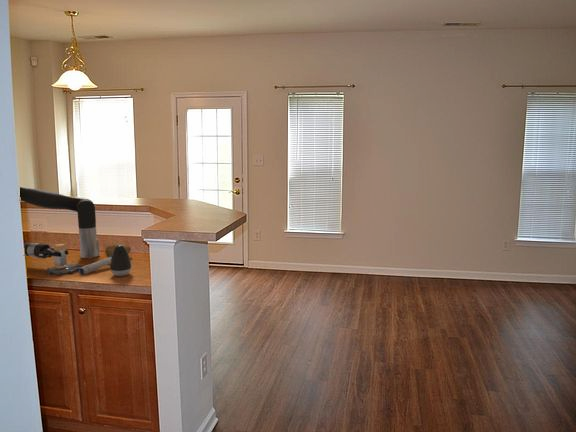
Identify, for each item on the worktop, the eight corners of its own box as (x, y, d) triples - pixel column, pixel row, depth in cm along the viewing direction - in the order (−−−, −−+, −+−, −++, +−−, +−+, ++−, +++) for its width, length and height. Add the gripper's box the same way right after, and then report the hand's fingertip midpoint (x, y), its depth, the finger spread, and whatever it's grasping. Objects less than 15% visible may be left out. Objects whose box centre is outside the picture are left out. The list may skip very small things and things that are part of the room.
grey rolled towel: (77, 267, 243) (117, 250, 263) (79, 279, 244) (119, 261, 264) (83, 268, 240) (123, 251, 260) (86, 280, 242) (126, 263, 262)
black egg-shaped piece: (111, 278, 235) (109, 248, 233) (109, 273, 245) (108, 244, 242) (133, 276, 239) (131, 246, 237) (130, 271, 249) (129, 242, 246)
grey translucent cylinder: (60, 263, 253) (59, 243, 251) (66, 264, 252) (65, 244, 250) (54, 265, 250) (53, 245, 248) (60, 266, 248) (59, 245, 246)
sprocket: (72, 264, 261) (72, 261, 260) (88, 270, 250) (88, 267, 250) (40, 271, 248) (40, 268, 248) (55, 277, 237) (55, 274, 237)
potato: (135, 257, 276) (134, 241, 274) (111, 263, 264) (110, 246, 262) (126, 255, 281) (125, 239, 279) (102, 260, 269) (101, 244, 267)
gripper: (27, 246, 247) (52, 249, 241) (49, 240, 260) (74, 243, 255) (28, 260, 248) (54, 264, 243) (50, 254, 262) (75, 257, 256)
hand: (64, 253), depth 249 cm, fingers closed on grey translucent cylinder, 4 cm apart
